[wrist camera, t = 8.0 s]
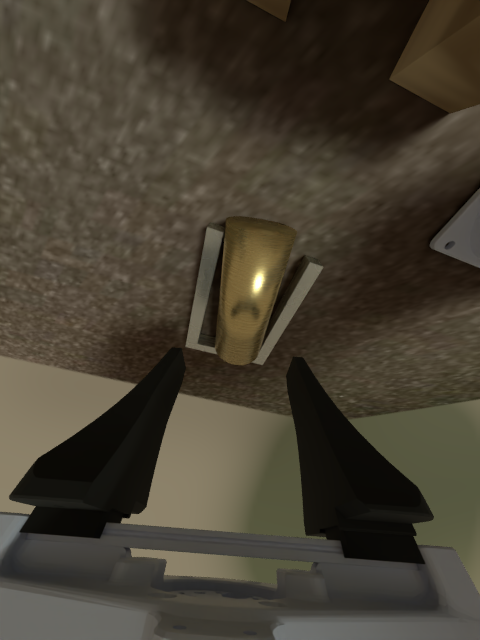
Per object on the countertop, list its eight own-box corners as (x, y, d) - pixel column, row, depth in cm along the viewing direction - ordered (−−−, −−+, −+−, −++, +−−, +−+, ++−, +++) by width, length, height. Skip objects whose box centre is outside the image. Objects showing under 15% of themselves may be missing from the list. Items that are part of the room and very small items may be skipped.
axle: (220, 213, 11) (236, 231, 8) (278, 220, 12) (310, 238, 9) (211, 333, 17) (219, 368, 14) (251, 330, 18) (265, 361, 16)
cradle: (317, 259, 13) (323, 266, 12) (261, 354, 20) (262, 365, 18) (210, 222, 12) (207, 226, 11) (189, 336, 18) (185, 346, 17)
